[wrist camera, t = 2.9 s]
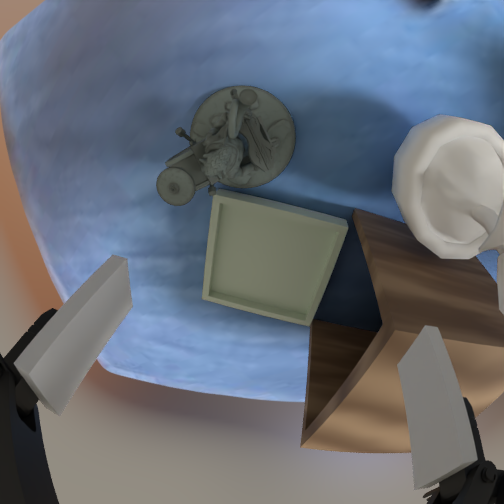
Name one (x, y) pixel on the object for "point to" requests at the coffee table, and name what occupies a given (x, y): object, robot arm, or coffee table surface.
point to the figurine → (230, 145)
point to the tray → (269, 256)
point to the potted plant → (453, 188)
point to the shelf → (400, 342)
